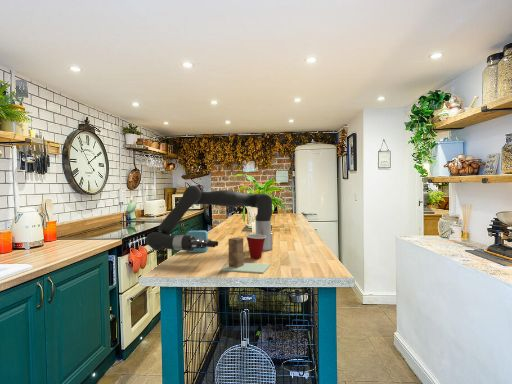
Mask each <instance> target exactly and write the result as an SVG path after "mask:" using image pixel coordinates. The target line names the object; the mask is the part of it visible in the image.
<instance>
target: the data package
mask: <svg viewBox="0 0 512 384" xmlns="http://www.w3.org/2000/svg"><path fill="white" fill-rule="evenodd" d="M185 235H193V236H194V237H195V239H196V240H197V239H209V233H208V230H189V231H187V232H186V233H185ZM207 251H209V247H207V248H206V247H205V248H195V249H194V250H193V251H186V252H187V253H206V252H207Z"/></svg>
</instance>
